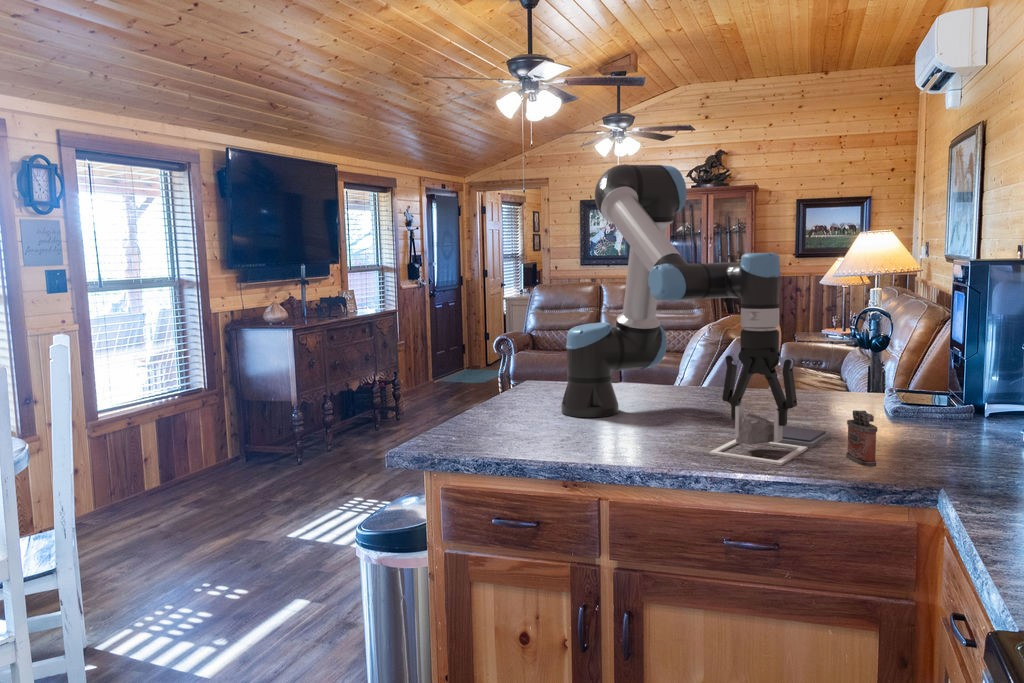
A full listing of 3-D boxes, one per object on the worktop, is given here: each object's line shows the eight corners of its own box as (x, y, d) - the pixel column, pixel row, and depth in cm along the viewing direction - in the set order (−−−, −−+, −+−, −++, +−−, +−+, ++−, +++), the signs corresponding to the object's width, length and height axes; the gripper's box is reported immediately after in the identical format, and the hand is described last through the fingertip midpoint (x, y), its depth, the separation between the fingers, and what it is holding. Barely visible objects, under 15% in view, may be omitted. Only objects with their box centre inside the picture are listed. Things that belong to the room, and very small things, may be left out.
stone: (765, 449, 152) (765, 421, 151) (727, 443, 158) (727, 416, 157) (786, 440, 159) (786, 412, 158) (750, 434, 165) (750, 408, 164)
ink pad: (756, 440, 168) (756, 434, 168) (776, 430, 177) (777, 424, 177) (812, 448, 161) (812, 441, 160) (830, 436, 170) (830, 430, 170)
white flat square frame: (709, 454, 158) (708, 451, 158) (738, 439, 169) (738, 437, 169) (781, 465, 148) (781, 462, 148) (807, 449, 160) (807, 446, 160)
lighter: (842, 456, 154) (843, 407, 152) (858, 455, 154) (859, 406, 153) (863, 467, 146) (865, 415, 145) (880, 466, 146) (882, 415, 145)
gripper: (705, 328, 160) (704, 435, 162) (804, 332, 147) (801, 449, 149) (720, 325, 165) (719, 428, 168) (816, 329, 152) (814, 441, 155)
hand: (758, 438), depth 159 cm, fingers closed on stone, 7 cm apart
